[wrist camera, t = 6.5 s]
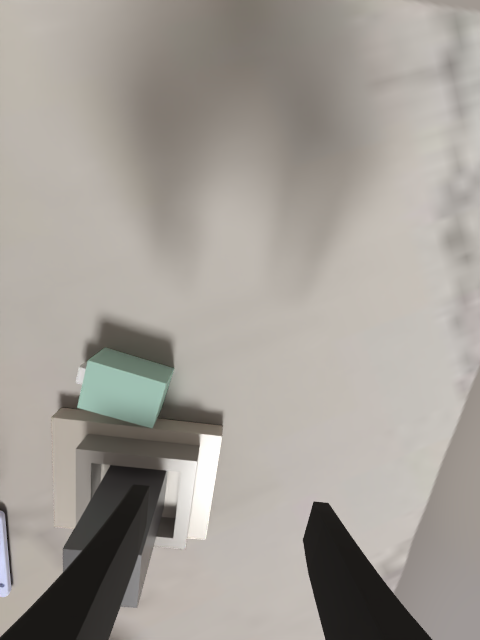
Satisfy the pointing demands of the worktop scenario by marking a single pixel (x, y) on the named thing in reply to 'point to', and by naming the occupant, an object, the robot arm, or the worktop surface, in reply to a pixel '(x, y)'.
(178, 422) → the plate
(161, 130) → the worktop surface
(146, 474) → the block
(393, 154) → the worktop surface
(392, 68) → the worktop surface
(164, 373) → the cable plug
